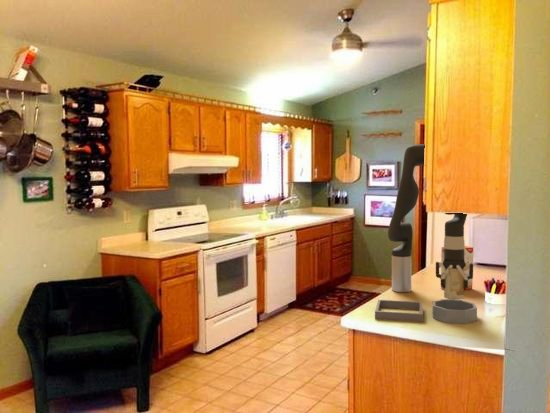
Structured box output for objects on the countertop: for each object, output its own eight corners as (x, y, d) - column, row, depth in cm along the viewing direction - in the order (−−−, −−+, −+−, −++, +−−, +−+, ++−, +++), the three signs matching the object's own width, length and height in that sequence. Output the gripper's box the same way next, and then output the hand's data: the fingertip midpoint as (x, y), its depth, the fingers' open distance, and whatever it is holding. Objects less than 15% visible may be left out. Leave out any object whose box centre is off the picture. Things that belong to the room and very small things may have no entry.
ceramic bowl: (431, 310, 197) (431, 298, 197) (473, 312, 192) (473, 300, 192) (433, 321, 182) (433, 309, 181) (478, 324, 177) (478, 311, 177)
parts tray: (378, 306, 204) (378, 299, 204) (421, 309, 199) (421, 302, 199) (374, 318, 187) (374, 311, 187) (422, 322, 182) (422, 314, 182)
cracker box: (447, 291, 227) (447, 248, 226) (440, 288, 233) (440, 246, 232) (473, 289, 230) (473, 246, 229) (466, 286, 236) (466, 245, 235)
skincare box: (450, 300, 184) (450, 269, 183) (443, 297, 188) (443, 267, 187) (464, 299, 185) (464, 268, 184) (457, 296, 189) (457, 266, 189)
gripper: (472, 246, 187) (472, 287, 188) (434, 245, 191) (434, 285, 192) (475, 249, 180) (474, 291, 181) (435, 248, 184) (435, 290, 185)
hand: (453, 288), depth 186 cm, fingers closed on skincare box, 7 cm apart
